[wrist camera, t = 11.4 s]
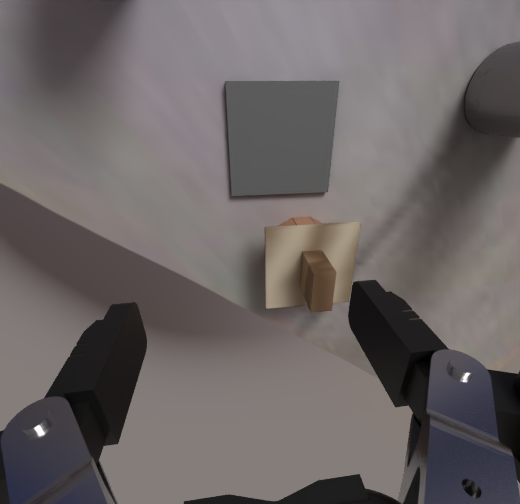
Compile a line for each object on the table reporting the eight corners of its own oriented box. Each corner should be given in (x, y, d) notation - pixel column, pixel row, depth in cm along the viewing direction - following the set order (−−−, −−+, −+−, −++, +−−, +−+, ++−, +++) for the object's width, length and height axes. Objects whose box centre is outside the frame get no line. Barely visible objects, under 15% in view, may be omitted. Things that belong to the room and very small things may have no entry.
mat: (336, 81, 31) (339, 80, 31) (325, 190, 37) (327, 192, 36) (225, 81, 30) (225, 81, 30) (231, 194, 36) (231, 195, 35)
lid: (358, 221, 34) (381, 243, 29) (346, 298, 39) (365, 327, 34) (264, 227, 33) (272, 250, 28) (265, 304, 38) (271, 336, 33)
